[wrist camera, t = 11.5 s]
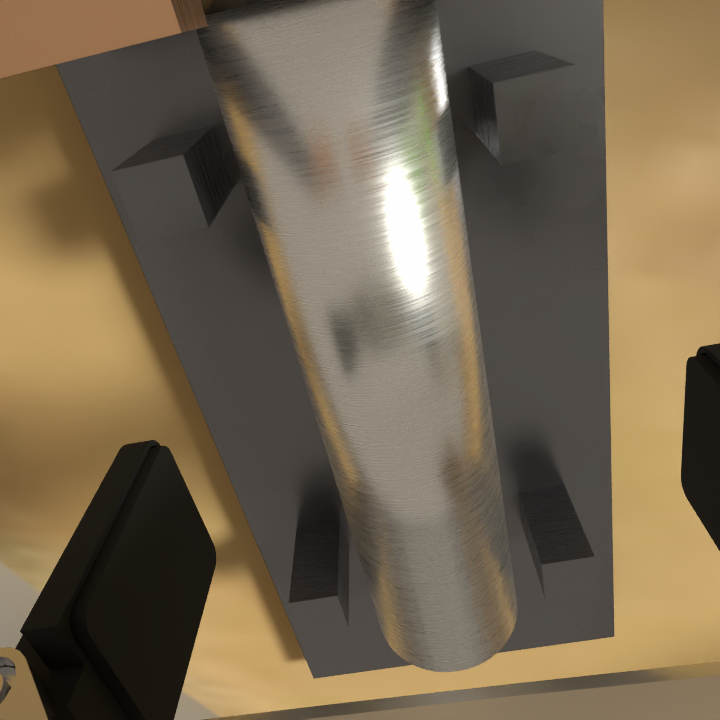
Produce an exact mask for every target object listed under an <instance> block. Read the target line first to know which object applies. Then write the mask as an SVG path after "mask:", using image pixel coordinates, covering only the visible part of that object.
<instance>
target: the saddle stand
mask: <svg viewBox="0 0 720 720" xmlns="http://www.w3.org/2000/svg"><path fill="white" fill-rule="evenodd" d="M436 6H437V13H438V20H439V28H440V35H441V43H442V50H443V58H444V65H445V72H446V80H447V87H448V95H449V102H450V110H451V117H452V124H453V132H454V139H455V147H456V154H457V162H458V169H459V176H460V184H461V191H462V199H463V206H464V214H465V221H466V228H467V236H468V243H469V251H470V258H471V266H472V273H473V280H474V288H475V295H476V303H477V310H478V318H479V325H480V332H481V340H482V347H483V355H484V362H485V370H486V377H487V384H488V392H489V399H490V407H491V414H492V422H493V429H494V436H495V444H496V451H497V459H498V466H499V474H500V481H501V488H502V496H503V503H504V511H505V518H506V526H507V533H508V540H509V548H510V555H511V563H512V570H513V578H514V585H515V592H516V600H517V619H516V624H515V627H514V630H513V632H512V634H511V636H510V638H509V639H508V641H507V642H506V644H505V645H504V646H503V647H502V648H501V649H500V651H499V652H497V653H500V652H507V651H514V650H521V649H528V648H536V647H543V646H550V645H557V644H564V643H571V642H579V641H586V640H593V639H600V638H607V637H614V596H613V539H612V483H611V426H610V369H609V313H608V256H607V199H606V142H605V86H604V29H603V0H436ZM206 26H208V24H207V20H206V17H205V14H204V10H203V7H202V4H201V0H0V78H3V77H7V76H11V75H15V74H19V73H23V72H27V71H31V70H35V69H39V68H43V67H47V66H51V65H55V64H56V66H57V69H58V71H59V73H60V76H61V78H62V81H63V83H64V85H65V88H66V90H67V92H68V95H69V97H70V100H71V102H72V104H73V107H74V109H75V111H76V114H77V116H78V119H79V121H80V123H81V126H82V128H83V130H84V133H85V135H86V138H87V140H88V142H89V145H90V147H91V149H92V152H93V154H94V157H95V159H96V161H97V164H98V166H99V169H100V171H101V173H102V176H103V178H104V180H105V183H106V185H107V188H108V190H109V192H110V195H111V197H112V199H113V202H114V204H115V207H116V209H117V211H118V214H119V216H120V218H121V221H122V223H123V226H124V228H125V230H126V233H127V235H128V238H129V240H130V242H131V245H132V247H133V249H134V252H135V254H136V257H137V259H138V261H139V264H140V266H141V268H142V271H143V273H144V276H145V278H146V280H147V283H148V285H149V287H150V290H151V292H152V295H153V297H154V299H155V302H156V304H157V306H158V309H159V311H160V314H161V316H162V318H163V321H164V323H165V326H166V328H167V330H168V333H169V335H170V337H171V340H172V342H173V345H174V347H175V349H176V352H177V354H178V356H179V359H180V361H181V364H182V366H183V368H184V371H185V373H186V375H187V378H188V380H189V383H190V385H191V387H192V390H193V392H194V395H195V397H196V399H197V402H198V404H199V406H200V409H201V411H202V414H203V416H204V418H205V421H206V423H207V425H208V428H209V430H210V433H211V435H212V437H213V440H214V442H215V444H216V447H217V449H218V452H219V454H220V456H221V459H222V461H223V464H224V466H225V468H226V471H227V473H228V475H229V478H230V480H231V483H232V485H233V487H234V490H235V492H236V494H237V497H238V499H239V502H240V504H241V506H242V509H243V511H244V513H245V516H246V518H247V521H248V523H249V525H250V528H251V530H252V532H253V535H254V537H255V540H256V542H257V544H258V547H259V549H260V552H261V554H262V556H263V559H264V561H265V563H266V566H267V568H268V571H269V573H270V575H271V578H272V580H273V582H274V585H275V587H276V590H277V592H278V594H279V597H280V599H281V601H282V604H283V606H284V609H285V611H286V613H287V616H288V618H289V621H290V623H291V625H292V628H293V630H294V632H295V635H296V637H297V640H298V642H299V644H300V647H301V649H302V651H303V654H304V656H305V659H306V661H307V663H308V666H309V668H310V670H311V673H312V675H313V678H321V677H328V676H335V675H342V674H349V673H356V672H364V671H371V670H378V669H385V668H392V667H399V666H407V665H412V664H410V663H408V662H407V661H405V660H404V659H402V658H401V657H400V656H399V655H398V654H396V653H395V652H394V651H393V649H392V648H391V647H390V646H389V644H388V643H387V641H386V639H385V637H384V635H383V633H382V630H381V627H380V623H379V620H378V617H377V614H376V611H375V607H374V604H373V601H372V598H371V594H370V591H369V588H368V585H367V581H366V578H365V575H364V572H363V569H362V565H361V562H360V559H359V556H358V552H357V549H356V546H355V543H354V539H353V536H352V533H351V530H350V526H349V523H348V520H347V517H346V514H345V510H344V507H343V504H342V501H341V497H340V494H339V491H338V488H337V484H336V481H335V478H334V475H333V471H332V468H331V465H330V462H329V459H328V455H327V452H326V449H325V446H324V442H323V439H322V436H321V433H320V429H319V426H318V423H317V420H316V417H315V413H314V410H313V407H312V404H311V400H310V397H309V394H308V391H307V387H306V384H305V381H304V378H303V374H302V371H301V368H300V365H299V362H298V358H297V355H296V352H295V349H294V345H293V342H292V339H291V336H290V332H289V329H288V326H287V323H286V320H285V316H284V313H283V310H282V307H281V303H280V300H279V297H278V294H277V290H276V287H275V284H274V281H273V277H272V274H271V271H270V268H269V265H268V261H267V258H266V255H265V252H264V248H263V245H262V242H261V239H260V235H259V232H258V229H257V226H256V223H255V219H254V216H253V213H252V210H251V206H250V203H249V200H248V197H247V193H246V190H245V187H244V184H243V180H242V177H241V174H240V171H239V168H238V164H237V161H236V158H235V155H234V151H233V148H232V145H231V142H230V138H229V135H228V132H227V129H226V125H225V122H224V119H223V116H222V113H221V109H220V106H219V103H218V100H217V96H216V93H215V90H214V87H213V83H212V80H211V77H210V74H209V71H208V67H207V64H206V61H205V58H204V54H203V51H202V48H201V45H200V41H199V38H198V35H197V32H196V29H198V28H202V27H206Z"/></svg>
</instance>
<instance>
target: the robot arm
mask: <svg viewBox="0 0 720 720" xmlns="http://www.w3.org/2000/svg"><path fill="white" fill-rule="evenodd" d="M681 482H682V487H683V490H684V493H685V495H686V497H687V499H688V501H689V502H690V504H691V506H692V507H693V509H694V510H695V512H696V514H697V515H698V517H699V518H700V520H701V522H702V523H703V525H704V526H705V528H706V530H707V531H708V533H709V535H710V536H711V538H712V539H713V541H714V543H715V544H716V546H717V547H718V549H719V551H720V343H719V344H714V345H708V346H702V347H700V348H699V349H698V351H697V355H696V356H694V357H690V358H688V361H687V365H686V385H685V405H684V425H683V445H682V465H681ZM215 566H216V551H215V547H214V544H213V542H212V540H211V538H210V535H209V533H208V531H207V529H206V527H205V525H204V522H203V520H202V518H201V516H200V514H199V512H198V509H197V507H196V505H195V503H194V501H193V499H192V496H191V494H190V492H189V490H188V488H187V486H186V483H185V481H184V479H183V477H182V475H181V473H180V470H179V468H178V466H177V464H176V462H175V460H174V458H173V455H172V453H171V451H170V450H169V448H168V447H167V446H160V444H159V443H158V442H157V441H154V440H150V441H144V442H138V443H133V444H127V445H124V446H122V448H121V449H120V450H119V452H118V454H117V456H116V458H115V459H114V461H113V463H112V465H111V467H110V468H109V470H108V472H107V474H106V476H105V478H104V479H103V481H102V483H101V485H100V487H99V488H98V490H97V492H96V494H95V496H94V498H93V499H92V501H91V503H90V505H89V507H88V508H87V510H86V512H85V514H84V516H83V518H82V519H81V521H80V523H79V525H78V527H77V528H76V530H75V532H74V534H73V536H72V538H71V539H70V541H69V543H68V545H67V547H66V548H65V550H64V552H63V554H62V556H61V558H60V559H59V561H58V563H57V565H56V567H55V568H54V570H53V572H52V574H51V576H50V578H49V579H48V581H47V583H46V585H45V587H44V588H43V590H42V592H41V594H40V596H39V598H38V599H37V601H36V603H35V605H34V607H33V608H32V610H31V612H30V614H29V616H28V618H27V619H26V621H25V623H24V625H23V627H22V629H21V631H20V632H21V633H22V634H23V636H22V638H21V639H20V641H19V643H18V645H17V647H16V648H15V649H14V648H11V647H6V648H0V720H174V717H175V713H176V709H177V705H178V702H179V698H180V695H181V691H182V687H183V684H184V680H185V676H186V673H187V669H188V665H189V662H190V658H191V654H192V650H193V647H194V643H195V639H196V636H197V632H198V628H199V625H200V621H201V617H202V614H203V610H204V606H205V603H206V599H207V595H208V592H209V588H210V584H211V581H212V577H213V573H214V570H215ZM204 720H720V662H714V663H703V664H694V665H684V666H675V667H666V668H656V669H647V670H638V671H628V672H619V673H610V674H600V675H591V676H582V677H572V678H563V679H554V680H544V681H535V682H526V683H517V684H508V685H499V686H490V687H481V688H472V689H463V690H454V691H445V692H436V693H428V694H419V695H410V696H401V697H392V698H384V699H375V700H366V701H357V702H348V703H340V704H331V705H323V706H314V707H306V708H297V709H289V710H280V711H272V712H264V713H255V714H247V715H238V716H230V717H221V718H213V719H204Z"/></svg>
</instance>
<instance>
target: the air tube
mask: <svg viewBox="0 0 720 720" xmlns="http://www.w3.org/2000/svg"><path fill="white" fill-rule="evenodd" d="M201 4H202V7H203V10H204V14H205V17H206V20H207V24H208V26H206V27H202V28H198V29H196V32H197V35H198V38H199V41H200V45H201V48H202V51H203V54H204V58H205V61H206V64H207V67H208V71H209V74H210V77H211V80H212V83H213V87H214V90H215V93H216V96H217V100H218V103H219V106H220V109H221V113H222V116H223V119H224V122H225V125H226V129H227V132H228V135H229V138H230V142H231V145H232V148H233V151H234V155H235V158H236V161H237V164H238V168H239V171H240V174H241V177H242V180H243V184H244V187H245V190H246V193H247V197H248V200H249V203H250V206H251V210H252V213H253V216H254V219H255V223H256V226H257V229H258V232H259V235H260V239H261V242H262V245H263V248H264V252H265V255H266V258H267V261H268V265H269V268H270V271H271V274H272V277H273V281H274V284H275V287H276V290H277V294H278V297H279V300H280V303H281V307H282V310H283V313H284V316H285V320H286V323H287V326H288V329H289V332H290V336H291V339H292V342H293V345H294V349H295V352H296V355H297V358H298V362H299V365H300V368H301V371H302V374H303V378H304V381H305V384H306V387H307V391H308V394H309V397H310V400H311V404H312V407H313V410H314V413H315V417H316V420H317V423H318V426H319V429H320V433H321V436H322V439H323V442H324V446H325V449H326V452H327V455H328V459H329V462H330V465H331V468H332V471H333V475H334V478H335V481H336V484H337V488H338V491H339V494H340V497H341V501H342V504H343V507H344V510H345V514H346V517H347V520H348V523H349V526H350V530H351V533H352V536H353V539H354V543H355V546H356V549H357V552H358V556H359V559H360V562H361V565H362V569H363V572H364V575H365V578H366V581H367V585H368V588H369V591H370V594H371V598H372V601H373V604H374V607H375V611H376V614H377V617H378V620H379V623H380V627H381V630H382V633H383V635H384V637H385V639H386V641H387V643H388V644H389V646H390V647H391V648H392V649H393V651H394V652H395V653H396V654H398V655H399V656H400V657H401V658H402V659H404V660H405V661H407V662H408V663H410V664H412V665H415V666H417V667H420V668H423V669H426V670H431V671H436V672H454V671H460V670H465V669H469V668H472V667H475V666H477V665H479V664H481V663H483V662H485V661H487V660H488V659H490V658H491V657H493V656H494V655H495V654H496V653H497V652H499V651H500V649H501V648H502V647H503V646H504V645H505V644H506V642H507V641H508V639H509V638H510V636H511V634H512V632H513V630H514V627H515V624H516V619H517V600H516V592H515V585H514V578H513V570H512V563H511V555H510V548H509V540H508V533H507V526H506V518H505V511H504V503H503V496H502V488H501V481H500V474H499V466H498V459H497V451H496V444H495V436H494V429H493V422H492V414H491V407H490V399H489V392H488V384H487V377H486V370H485V362H484V355H483V347H482V340H481V332H480V325H479V318H478V310H477V303H476V295H475V288H474V280H473V273H472V266H471V258H470V251H469V243H468V236H467V228H466V221H465V214H464V206H463V199H462V191H461V184H460V176H459V169H458V162H457V154H456V147H455V139H454V132H453V124H452V117H451V110H450V102H449V95H448V87H447V80H446V72H445V65H444V58H443V50H442V43H441V35H440V28H439V20H438V13H437V6H436V0H201Z"/></svg>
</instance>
